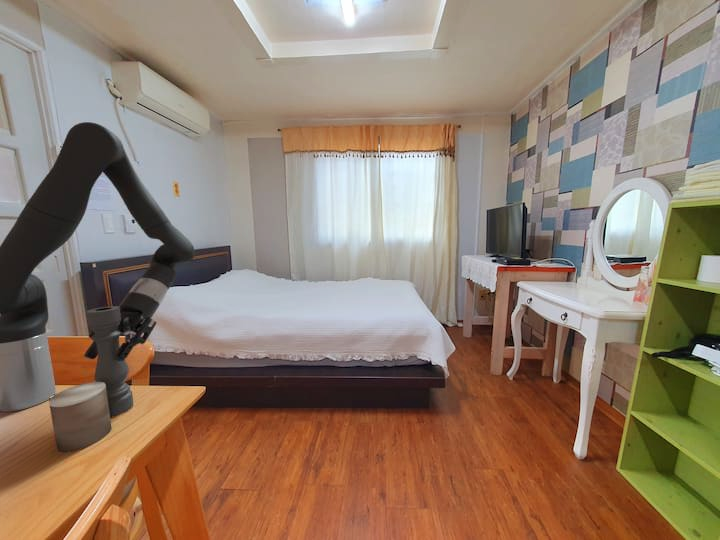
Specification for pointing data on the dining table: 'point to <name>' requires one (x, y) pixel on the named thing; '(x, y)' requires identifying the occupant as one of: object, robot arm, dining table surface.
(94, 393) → the gray cylinder
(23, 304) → the robot arm
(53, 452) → the dining table surface
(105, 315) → the candle holder
